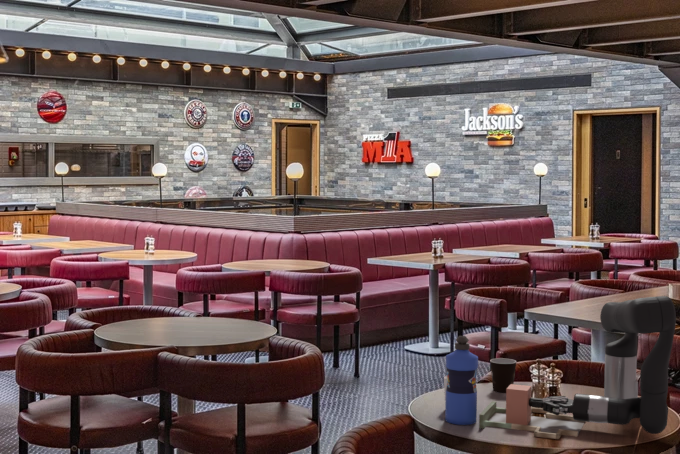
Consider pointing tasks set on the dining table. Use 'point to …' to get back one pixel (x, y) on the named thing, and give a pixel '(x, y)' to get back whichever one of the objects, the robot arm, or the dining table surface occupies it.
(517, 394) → the pink rectangular block
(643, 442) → the dining table surface
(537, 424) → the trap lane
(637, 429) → the dining table surface
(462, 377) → the water bottle
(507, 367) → the coffee mug
